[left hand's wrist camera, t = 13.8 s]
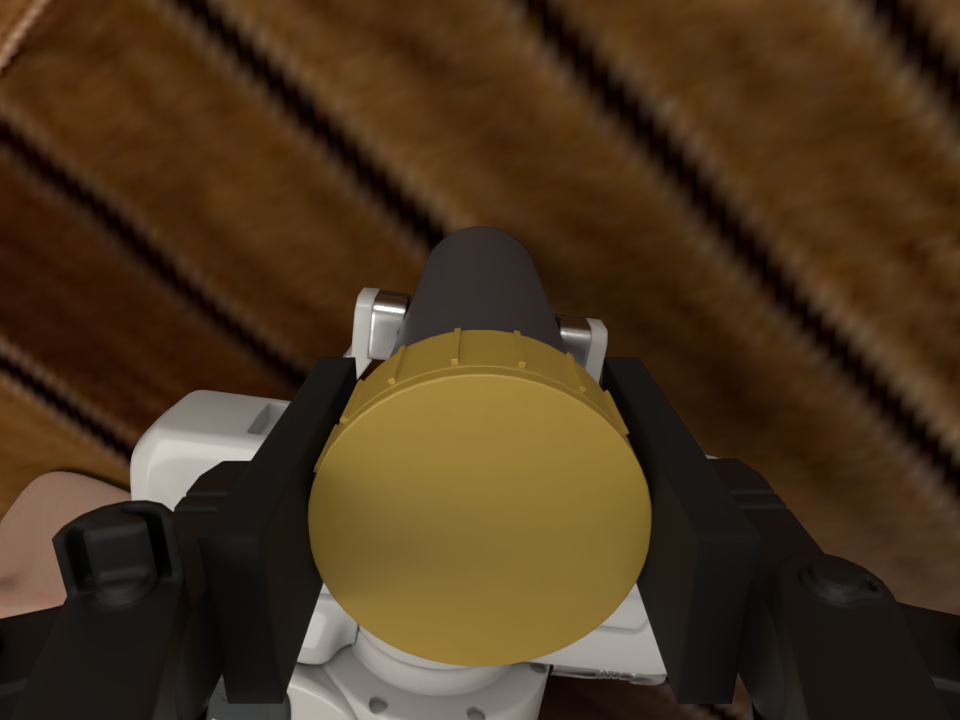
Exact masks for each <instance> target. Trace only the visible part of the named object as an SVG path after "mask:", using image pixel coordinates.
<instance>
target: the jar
mask: <svg viewBox="0 0 960 720" xmlns="http://www.w3.org/2000/svg"><path fill="white" fill-rule="evenodd" d="M455 328H461V331H466V330H494V331H502V332H510V333H514V330H515V331H520V335H522V336H526V337H529V338H532V339H535V340H537V341H540V342H542V343H545V344H547V345H550V346H551V347H553V348H555V349H557V350H558V351H560V352H562V353H564V354H565V355H566V354H567V353H568V351H567V348H566V346H565V343H564V341H563V338H562V335H561V333H560V330H559V328H558V325H557V323H556V320H555V317H554V315H553V312H552V310H551V307H550V305H549V302H548V299H547V297H546V294H545V292H544V289H543V287H542V284H541V281H540V279H539V276H538V274H537V271H536V269H535V266H534V263H533V261H532V259H531V257H530V255H529V253H528V252H527V250H526V249H525V248H524V247H523V246H522V244H521V243H520V242H519V241H517V240H516V239H515V238H514V237H512V236H510V235H509V234H507V233H505V232H503V231H500V230H498V229H494V228H489V227H470V228H466V229H462V230H459V231H457V232H454V233H452V234H451V235H449V236H447V237H446V238H445V239H443V240H442V241H441V242H440V243H439V244H438V245H437V246H436V247H435V248H434V250H433V251H432V252H431V254H430V256H429V258H428V259H427V262H426V265H425V267H424V270H423V272H422V275H421V277H420V280H419V283H418V285H417V288H416V290H415V293H414V295H413V298H412V301H411V303H410V306H409V308H408V311H407V314H406V316H405V319H404V321H403V324H402V326H401V329H400V332H399V334H398V337H397V339H396V342H395V345H394V347H393V350H392V352H391V355H390V357H391V356H393V355H394V354H396V353H398V350H399V347H401V346H403V345H405V346H406V348H407V347H408V346H410V345H412V344H415V343H417V342H420V341H422V340H425V339H428V338H430V337H434V336H438V335H442V334H446V333H450V332H454V330H455ZM390 357H389V358H390Z"/></svg>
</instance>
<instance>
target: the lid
mask: <svg viewBox="0 0 960 720" xmlns="http://www.w3.org/2000/svg"><path fill="white" fill-rule="evenodd" d="M627 434H629V431H628V429H627V427H626V425H625V423H624V421H623V419H622V417H621V415H620V413H619V411H618V409H617V407H616V404H615V402H614V400H613V398H612V396H611V394H610V393H609V391H608V390H606V391H605V392H604V391H603V390H602V389H601V387H600V386H599V385H598V383H597V382H596V381H595V380H594V379H593V378H592V377H591V376H590V375H589V374H588V373H587V372H586V371H585V370H584V369H583V368H582V367H581V366H580V365H579V364H578V363H576V362H575V360H574V357H573V355H572V354H570V353H569V352H568V353H567V354H566V355H565V354H564V353H562V352H560V351H558V350H557V349H555V348H553V347H551V346H550V345H547V344H545V343H542V342H540V341H537V340H535V339H532V338H529V337H526V336H522V335H520V331H515V330H514V333H510V332H502V331H494V330H466V331H461V328H455V330H454V332H450V333H446V334H442V335H438V336H434V337H430V338H428V339H425V340H422V341H420V342H417V343H415V344H412V345H410V346H408V347H407V348H406V346H405V345H403V346H401V347H399V350H398V353H396V354H394V355H393V356H391V357H390V358H389V359H387V360H386V361H385V362H383V363H382V364H381V365H379V366H378V367H377V368H376V369H375V370H374V371H373V372H372V373H371V374H370V375H369V376H368V377H367V378H366V379H365V380H364V381H363V380H361V379H360V380H359V381H358V382H357V384H356V387H355V389H354V391H353V393H352V395H351V397H350V399H349V401H348V403H347V406H346V408H345V410H344V412H343V414H342V416H341V418H340V423H339V425H336V424H335V426H334V428H333V430H332V432H331V434H330V436H329V438H328V440H327V442H326V444H325V446H324V449H323V451H322V453H321V455H320V457H319V459H318V461H317V463H316V465H315V467H314V471H313V472H315V473H316V476H315V478H314V481H313V484H312V488H311V493H310V498H309V502H308V527H309V536H310V545H311V551H312V555H313V558H314V562H315V564H316V567H317V569H318V571H319V574H320V576H321V578H322V580H323V582H324V583H325V585H326V587H327V588H328V590H329V592H330V593H331V595H332V596H333V598H334V599H335V600H336V601H337V603H338V604H339V605H340V606H341V608H342V609H343V610H344V611H345V612H346V613H347V614H348V615H349V616H350V617H351V618H352V619H353V620H354V621H355V622H356V623H357V624H359V625H360V626H361V627H363V628H364V629H365V630H367V631H368V632H369V633H371V634H372V635H373V636H375V637H377V638H378V639H380V640H382V641H383V642H385V643H387V644H389V645H390V646H392V647H395V648H397V649H399V650H401V651H404V652H406V653H408V654H411V655H414V656H417V657H420V658H423V659H426V660H430V661H435V662H440V663H444V664H450V665H460V666H478V667H490V666H500V665H510V664H515V663H520V662H525V661H530V660H533V659H536V658H539V657H542V656H546V655H549V654H551V653H554V652H556V651H558V650H560V649H563V648H565V647H567V646H569V645H571V644H573V643H574V642H576V641H578V640H580V639H581V638H583V637H585V636H586V635H588V634H589V633H590V632H592V631H593V630H594V629H596V628H597V627H598V626H600V625H601V624H602V623H603V622H604V621H605V620H606V619H607V618H608V617H609V616H611V615H612V614H613V613H614V612H615V611H616V609H617V608H618V607H619V606H620V605H621V603H622V602H623V601H624V600H625V598H626V597H627V596H628V594H629V593H630V591H631V589H632V588H633V586H634V585H635V583H636V581H637V580H638V577H639V575H640V573H641V570H642V568H643V566H644V564H645V561H646V557H647V553H648V549H649V541H650V532H651V522H652V504H651V499H650V494H649V489H648V485H647V480H646V478H645V476H644V474H643V471H642V468H641V466H640V464H639V461H638V459H637V457H636V455H635V453H634V451H633V449H632V447H631V445H630V442H629V440H628V438H627V436H626V435H627Z"/></svg>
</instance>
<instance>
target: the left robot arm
mask: <svg viewBox="0 0 960 720" xmlns="http://www.w3.org/2000/svg"><path fill="white" fill-rule="evenodd" d="M356 384H357V371H356V357H321V358H320V360H319V361H318V363H317V364H316V365H315V367H314V368H313V370H312V371H311V373H310V374H309V376H308V377H307V379H306V380H305V382H304V383H303V385H302V386H301V387H300V389H299V390H298V392H297V393H296V395H295V396H294V398H293V399H292V401H291V402H290V404H289V405H288V407H287V408H286V409H285V411H284V412H283V414H282V415H281V417H280V418H279V420H278V421H277V423H276V424H275V426H274V427H273V429H272V430H271V432H270V433H269V434H268V436H267V437H266V439H265V440H264V442H263V443H262V445H261V446H260V448H259V449H258V451H257V452H256V454H255V455H254V456H253V458H252V459H251V461H222V462H220V463H219V464H217V465H216V466H214V467H213V468H211V469H209V470H208V471H206V472H205V473H203V474H202V475H200V476H199V477H198V479H197V480H196V481H195V482H194V484H193V485H192V486H191V487H190V489H189V490H188V491H187V492H186V497H182V499H181V500H180V501H179V502H178V504H177V505H176V506H175V507H174V512H172V510H170V509H169V508H168V507H167V506H165V505H164V504H163V503H159V502H154V501H149V500H134V501H123V502H119V503H114V504H110V505H105V506H102V507H99V508H97V509H94V510H92V511H89V512H87V513H84V514H82V515H80V516H78V517H77V518H75V519H74V520H72V521H71V522H69V523H67V524H66V525H64V526H63V527H62V528H61V529H60V530H59V531H58V532H57V533H56V535H55V536H54V537H53V538H52V543H53V547H54V550H55V554H56V557H57V561H58V565H59V568H60V572H61V576H62V579H63V583H64V586H65V590H66V594H67V597H66V599H65V601H64V604H63V605H60V606H56V607H52V608H48V609H43V610H39V611H34V612H29V613H24V614H20V615H15V616H10V617H5V618H1V619H0V720H212V714H211V709H210V704H209V701H210V699H211V696H212V694H213V692H214V690H215V688H216V686H217V684H218V681H219V679H220V677H221V675H223V680H224V686H225V691H226V697H227V702H228V704H283V701H284V698H285V695H286V692H287V689H288V686H289V683H290V680H291V677H292V674H293V671H294V668H295V665H296V663H297V660H298V657H299V654H300V651H301V648H302V645H303V642H304V639H305V636H306V633H307V630H308V627H309V624H310V621H311V618H312V616H313V613H314V610H315V607H316V604H317V601H318V598H319V595H320V592H321V589H322V586H323V583H324V582H323V580H322V578H321V576H320V574H319V571H318V569H317V567H316V564H315V562H314V558H313V555H312V551H311V545H310V536H309V527H308V502H309V498H310V493H311V488H312V484H313V481H314V478H315V476H316V473H315V472H313V471H314V467H315V465H316V463H317V461H318V459H319V457H320V455H321V453H322V451H323V449H324V446H325V444H326V442H327V440H328V438H329V436H330V434H331V432H332V430H333V428H334V426H335V424H336V425H339V423H340V418H341V416H342V414H343V412H344V410H345V408H346V406H347V403H348V401H349V399H350V397H351V395H352V393H353V391H354V389H355V387H356ZM602 390H603V391H604V392H605V391H606V390H608V391H609V393H610V394H611V396H612V398H613V400H614V402H615V404H616V407H617V409H618V411H619V413H620V415H621V417H622V419H623V421H624V423H625V425H626V427H627V429H628V431H629V434H627V435H626V436H627V438H628V440H629V442H630V445H631V447H632V449H633V451H634V453H635V455H636V457H637V459H638V461H639V464H640V466H641V468H642V471H643V474H644V476H645V478H646V480H647V485H648V489H649V494H650V499H651V504H652V522H651V532H650V541H649V549H648V553H647V557H646V561H645V564H644V566H643V568H642V570H641V573H640V575H639V577H638V580H637V581H636V584H637V587H638V590H639V593H640V596H641V599H642V602H643V605H644V608H645V611H646V614H647V617H648V620H649V623H650V625H651V628H652V631H653V634H654V637H655V640H656V643H657V646H658V649H659V652H660V655H661V658H662V661H663V664H664V667H665V670H666V673H667V675H668V678H669V681H670V684H671V687H672V690H673V693H674V696H675V699H676V702H677V704H732V700H733V694H734V689H735V683H736V678H737V672H738V673H739V675H740V677H741V679H742V681H743V683H744V685H745V688H746V690H747V692H748V694H749V696H750V698H751V704H750V709H749V714H748V719H747V720H960V616H959V615H954V614H949V613H944V612H940V611H935V610H930V609H925V608H921V607H916V606H911V605H907V604H903V603H900V602H896V600H895V598H894V596H893V594H892V593H891V592H890V590H889V589H888V588H887V586H886V585H885V584H884V583H883V581H882V580H880V579H879V578H878V577H876V576H875V575H873V574H872V573H871V572H869V571H868V570H867V569H865V568H863V567H861V566H859V565H857V564H855V563H852V562H850V561H848V560H846V559H843V558H839V557H836V556H832V555H828V554H824V552H823V551H822V550H821V549H820V547H819V546H818V545H817V544H816V542H815V541H814V540H813V539H812V537H811V536H810V535H809V534H808V532H807V531H806V530H805V529H804V527H803V526H802V525H801V524H800V522H799V521H798V520H797V519H796V518H795V516H794V515H793V514H792V513H791V511H790V510H789V509H786V505H785V504H784V503H783V501H782V500H781V499H780V498H779V496H778V495H777V494H774V490H773V489H772V488H771V486H770V485H769V484H768V483H767V481H766V480H765V479H764V478H763V476H762V475H761V474H760V473H759V472H757V471H755V470H754V469H752V468H751V467H749V466H747V465H746V464H744V463H743V462H741V461H740V460H738V459H707V457H706V456H705V454H704V453H703V451H702V450H701V448H700V447H699V445H698V444H697V442H696V441H695V439H694V438H693V437H692V435H691V434H690V432H689V431H688V429H687V428H686V426H685V425H684V423H683V422H682V420H681V419H680V417H679V416H678V415H677V413H676V412H675V410H674V409H673V407H672V406H671V404H670V403H669V401H668V400H667V398H666V397H665V395H664V394H663V392H662V391H661V390H660V388H659V387H658V385H657V384H656V382H655V381H654V379H653V378H652V376H651V375H650V373H649V372H648V370H647V369H646V368H645V366H644V365H643V363H642V362H641V360H640V359H639V357H604V366H603V380H602Z"/></svg>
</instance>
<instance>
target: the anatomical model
mask: <svg viewBox="0 0 960 720" xmlns="http://www.w3.org/2000/svg"><path fill="white" fill-rule="evenodd" d="M123 501H132V499H131V493H129V492H127V491H125V490H122V489H120V488H117V487H115V486H112V485H110V484H108V483H105V482H103V481H100V480H96V479H93V478H90V477H87V476H84V475H81V474H77V473H71V472H64V471H57V472H49V473H46V474H43V475H41V476H39V477H38V478H37V479H35V480H34V481H32V482H31V483H30V484H29V486H28V487H27V488H26V489H25V490H24V491H23V492H22V493H21V494H20V496H19V497H18V498H17V500H16V501H15V503H14V504H13V505H12V507H11V508H10V509H9V511H8V512H7V514H6V515H5V517H4V518H3V520H2V521H1V523H0V619H1V618H5V617H10V616H15V615H20V614H24V613H29V612H34V611H39V610H43V609H48V608H52V607H56V606H60V605H63V604H64V601H65V599H66V597H67V594H66V590H65V586H64V583H63V579H62V576H61V572H60V568H59V565H58V561H57V557H56V554H55V550H54V547H53V543H52V538H53V537H54V536H55V535H56V533H57V532H58V531H59V530H60V529H61V528H62V527H63V526H64V525H66V524H67V523H69V522H71V521H72V520H74V519H75V518H77V517H78V516H80V515H82V514H84V513H87V512H89V511H92V510H94V509H97V508H99V507H102V506H105V505H110V504H114V503H119V502H123Z"/></svg>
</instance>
